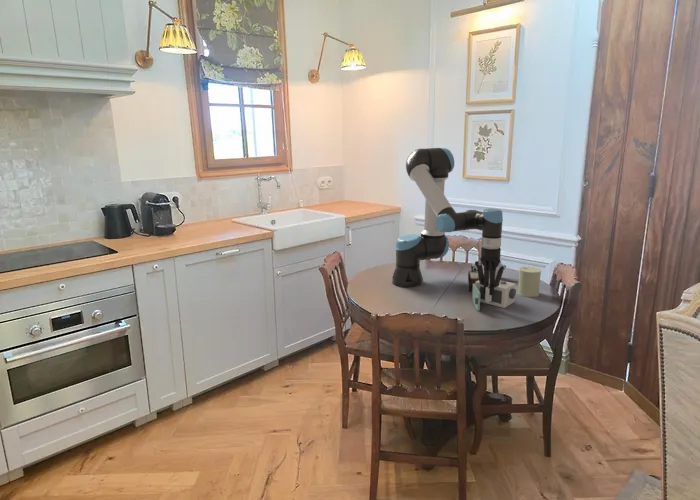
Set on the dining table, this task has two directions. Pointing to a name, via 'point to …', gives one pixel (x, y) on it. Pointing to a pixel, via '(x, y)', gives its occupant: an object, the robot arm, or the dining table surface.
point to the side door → (476, 297)
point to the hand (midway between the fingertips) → (488, 301)
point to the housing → (499, 294)
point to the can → (529, 281)
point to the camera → (472, 277)
